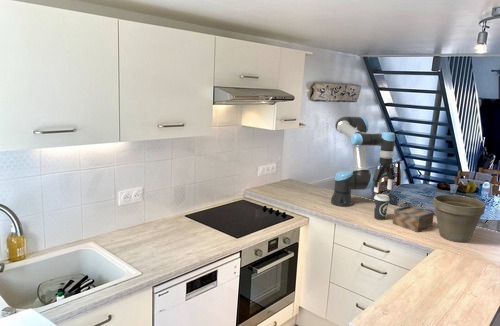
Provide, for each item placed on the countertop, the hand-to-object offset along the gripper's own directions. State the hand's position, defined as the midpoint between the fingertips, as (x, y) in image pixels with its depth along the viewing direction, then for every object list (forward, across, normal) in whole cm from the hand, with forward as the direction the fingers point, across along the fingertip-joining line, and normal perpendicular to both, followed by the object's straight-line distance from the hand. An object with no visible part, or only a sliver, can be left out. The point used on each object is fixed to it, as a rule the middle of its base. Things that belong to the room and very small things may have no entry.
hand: (382, 190), depth 225 cm
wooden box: (+18, +7, -18) cm, 26 cm away
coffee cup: (+18, 0, 0) cm, 19 cm away
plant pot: (+19, +10, -41) cm, 46 cm away
